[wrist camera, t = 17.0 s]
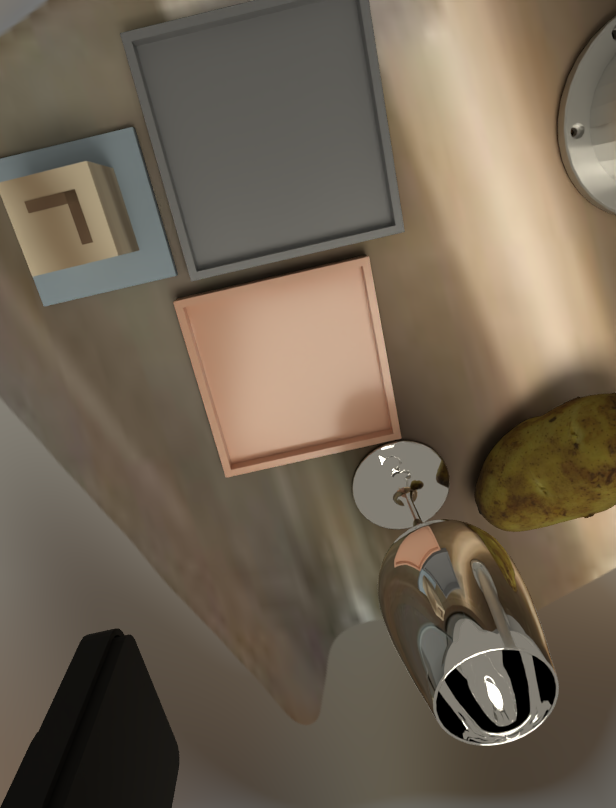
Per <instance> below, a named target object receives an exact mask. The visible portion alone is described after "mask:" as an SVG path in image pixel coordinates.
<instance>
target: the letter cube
mask: <svg viewBox="0 0 616 808" xmlns="http://www.w3.org/2000/svg"><path fill="white" fill-rule="evenodd" d="M0 195H1V197H2V200H3V202H4V205H5V207H6V210H7V212H8V215H9V218H10V220H11V223H12V225H13V228H14V230H15V233H16V236H17V238H18V241H19V243H20V246H21V248H22V251H23V254H24V256H25V259H26V261H27V264H28V266H29V269H30V272H31V274H32V277H33V276H38V275H42V274H46V273H50V272H54V271H58V270H62V269H66V268H70V267H74V266H79V265H83V264H87V263H91V262H95V261H99V260H103V259H107V258H111V257H115V256H119V255H123V254H127V253H131V252H135V251H139V247H138V243H137V240H136V237H135V234H134V231H133V228H132V225H131V222H130V218H129V215H128V212H127V209H126V206H125V203H124V200H123V197H122V194H121V190H120V187H119V184H118V181H117V178H116V175H115V172H114V169H113V168H111V167H107V166H104V165H100V164H96V163H93V162H89V161H84V162H80V163H76V164H72V165H68V166H64V167H60V168H56V169H52V170H48V171H44V172H40V173H36V174H32V175H28V176H24V177H20V178H16V179H12V180H8V181H4V182H0Z"/></svg>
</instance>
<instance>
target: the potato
mask: <svg viewBox="0 0 616 808" xmlns="http://www.w3.org/2000/svg"><path fill="white" fill-rule="evenodd" d="M475 501H476V504H477V507H478V510H479V513H480V514H481V515H483V517H484V518H485V519H486V520H487V521H488V522H489V523H490V524H492V525H493V526H495V527H497V528H499V529H501V530H504V531H512V532H520V531H527V530H532V529H537V528H542V527H546V526H550V525H554V524H557V523H561V522H565V521H569V520H572V519H576V518H580V517H584V518H588V517H591V516H593V515H594V514H595V513H599V512H602V511H605V510H607V509H609V508H611V507H613V506H614V505H616V393H612V394H597V395H590V396H585V397H577V398H575V399H572V400H570V401H568V402H566V403H564V404H563V405H561V406H558V407H556V408H554V409H553V410H551V411H549V412H548V413H546V414H545V415H543V416H538V417H534V418H530V419H528V420H526V421H524V422H522V423H520V424H519V425H517V426H516V427H515V428H513V429H512V430H511V431H510V432H508V433H507V434H506V435H505V436H504V437H503V438H502V439H501V440H500V441H499V442H498V443H497V444H496V445H495V446H494V448H493V449H492V450H491V452H490V453H489V455H488V456H487V458H486V460H485V462H484V464H483V466H482V469H481V472H480V475H479V478H478V481H477V484H476V489H475Z"/></svg>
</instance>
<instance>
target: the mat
mask: <svg viewBox="0 0 616 808" xmlns="http://www.w3.org/2000/svg"><path fill="white" fill-rule="evenodd" d="M84 161H89V162H93V163H96V164H100V165H104V166H107V167H111V168H113V169H114V172H115V175H116V178H117V181H118V184H119V187H120V190H121V194H122V197H123V200H124V203H125V206H126V209H127V212H128V215H129V218H130V222H131V225H132V228H133V231H134V234H135V237H136V240H137V243H138V247H139V251H135V252H131V253H127V254H123V255H119V256H115V257H111V258H107V259H103V260H99V261H95V262H91V263H87V264H83V265H79V266H74V267H70V268H66V269H62V270H58V271H54V272H50V273H46V274H42V275H38V276H33V279H34V281H35V284H36V287H37V289H38V292H39V295H40V297H41V300H42V303H43V305H44V306H48V305H53V304H57V303H61V302H65V301H70V300H74V299H78V298H83V297H87V296H91V295H96V294H100V293H104V292H108V291H113V290H117V289H121V288H126V287H130V286H134V285H138V284H143V283H147V282H151V281H156V280H160V279H164V278H169V277H173V276H177V275H178V273H177V270H176V267H175V263H174V260H173V256H172V253H171V250H170V246H169V243H168V239H167V236H166V233H165V229H164V226H163V222H162V219H161V216H160V212H159V209H158V205H157V202H156V198H155V195H154V192H153V188H152V185H151V181H150V178H149V175H148V171H147V168H146V164H145V161H144V158H143V154H142V151H141V147H140V144H139V141H138V137H137V134H136V130H135V128H133V127H130V128H126V129H122V130H117V131H113V132H109V133H105V134H101V135H97V136H92V137H88V138H84V139H80V140H76V141H72V142H67V143H63V144H59V145H55V146H51V147H47V148H42V149H38V150H34V151H30V152H26V153H22V154H18V155H13V156H9V157H5V158H1V159H0V182H4V181H8V180H12V179H16V178H20V177H24V176H28V175H32V174H36V173H40V172H44V171H48V170H52V169H56V168H60V167H64V166H68V165H72V164H76V163H80V162H84Z"/></svg>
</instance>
